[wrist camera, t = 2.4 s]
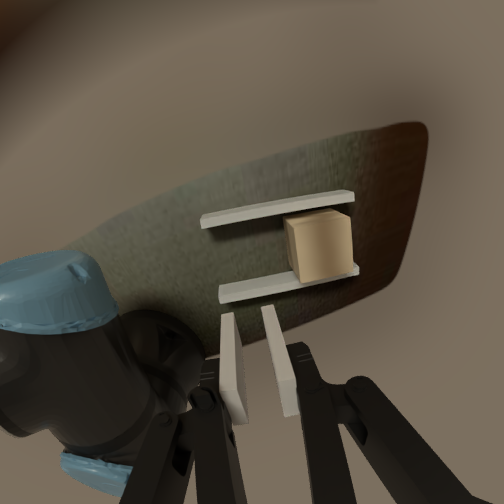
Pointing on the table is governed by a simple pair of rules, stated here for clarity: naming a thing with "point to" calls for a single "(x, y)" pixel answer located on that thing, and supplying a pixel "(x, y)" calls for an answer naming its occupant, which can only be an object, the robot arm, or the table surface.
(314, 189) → the table surface
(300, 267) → the maple block
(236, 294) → the channel
